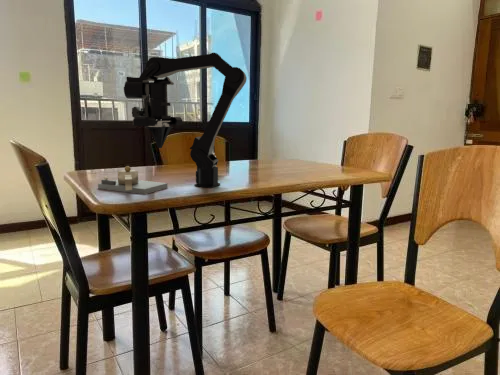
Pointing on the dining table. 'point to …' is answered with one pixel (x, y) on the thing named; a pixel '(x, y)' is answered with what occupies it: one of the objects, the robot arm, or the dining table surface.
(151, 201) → the dining table surface
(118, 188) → the level stand
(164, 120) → the robot arm
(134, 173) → the cream stepped block
